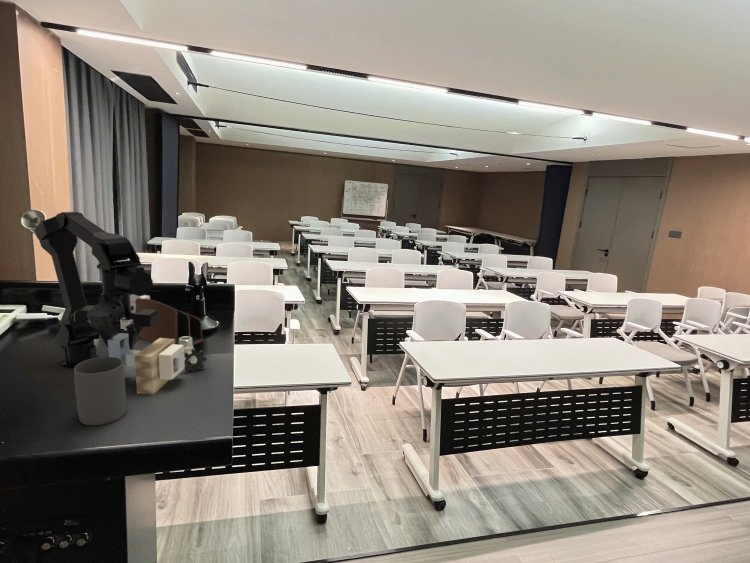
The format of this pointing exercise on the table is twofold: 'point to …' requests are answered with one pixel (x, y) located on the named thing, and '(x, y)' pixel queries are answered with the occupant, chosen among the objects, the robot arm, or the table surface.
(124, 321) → the ink box
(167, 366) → the block
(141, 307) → the letter holder
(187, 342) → the valve
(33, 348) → the table surface
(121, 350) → the pale grey block
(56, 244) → the robot arm
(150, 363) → the wooden block
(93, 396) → the mug
